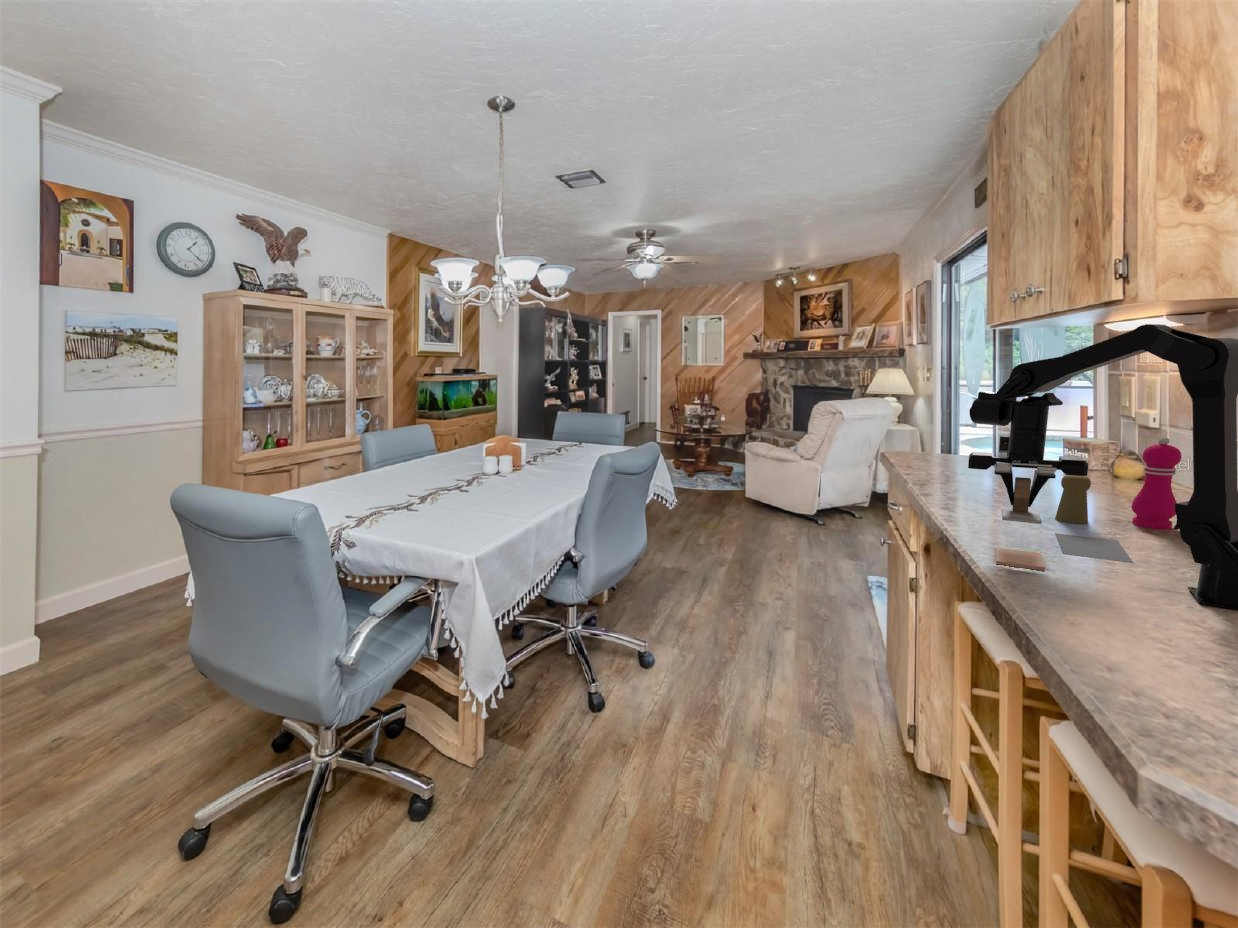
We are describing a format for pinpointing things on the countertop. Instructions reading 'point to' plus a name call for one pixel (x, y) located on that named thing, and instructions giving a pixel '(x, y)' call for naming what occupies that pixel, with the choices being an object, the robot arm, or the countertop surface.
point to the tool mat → (1092, 547)
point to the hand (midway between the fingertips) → (1020, 505)
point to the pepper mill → (1157, 487)
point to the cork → (1073, 500)
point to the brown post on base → (1021, 504)
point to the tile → (1019, 558)
